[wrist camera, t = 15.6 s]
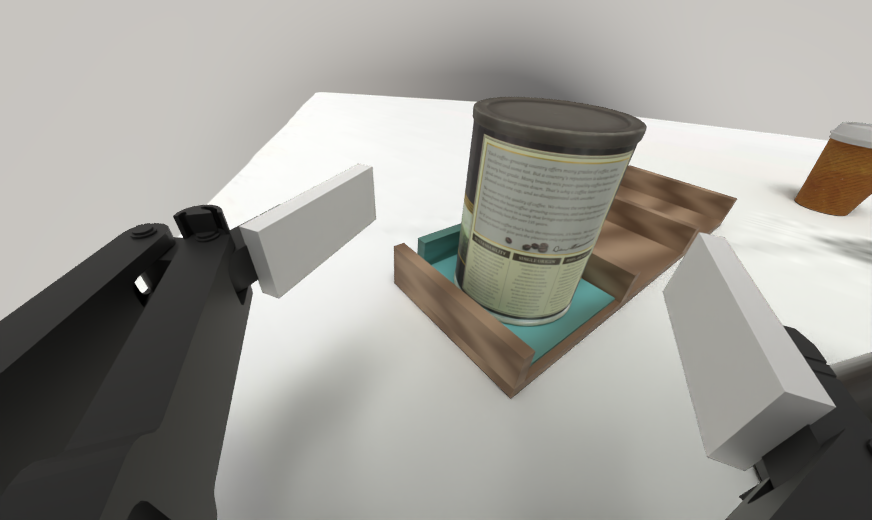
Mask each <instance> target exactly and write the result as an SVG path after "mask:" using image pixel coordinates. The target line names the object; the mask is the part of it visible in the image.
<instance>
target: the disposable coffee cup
mask: <svg viewBox="0 0 872 520" xmlns="http://www.w3.org/2000/svg"><path fill="white" fill-rule="evenodd" d="M830 133H831V135H830V136H829V137H830V139H829V141H828V143H827V145H826V146H825V148H824V150H823V151H822V153H821V155H820V157H819V158H818V160H817V162H816V164H815V165H814V167H813V169H812V171H811V172H810V174H809V176H808V177H807V179H806V181H805V183H804V184H803V186H802V188H801V190H800V191H799V193H798V195H797V197H796V198H795V201H796V202H797V203H798V204H800V205H802V206H804V207H806V208H809V209H811V210H814V211H818V212H822V213H826V214H831V215H838V216H845V215H848V214H849V213H850V212H851V211H852V210H853V209H855V208H856V207H857V206H858V205H859V204H860V203H861V202H863V201H864V200H865V199H866V198H867V197H868V196H870V195H871V194H872V124H866V123H857V122H842V123H841V124H840V125H839V126H838V127H837V128H836V129H835V130H831V131H830Z"/></svg>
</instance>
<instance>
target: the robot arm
mask: <svg viewBox="0 0 872 520" xmlns="http://www.w3.org/2000/svg"><path fill="white" fill-rule="evenodd" d="M173 217H174V219H175V221H176V223H177V225H178V228H179V230H180V232H181V234H182V236H183V238H176V237H173V235H172V233H171V231H170V229H169V227H168V226H167V225H165V224H159V223H154V224H150V223H147V224H144V225H143V224H142V225H138V226H136V227H134V228H131V229H129V230H127V231H125V232H124V233H122V234H121V235H119V236H118V237H116V238H115V239H114V240H112V241H111V242H110V243H108V244H107V245H105V246H104V247H103V248H101V249H100V250H98V251H97V252H96V253H94V254H93V255H92V256H90V257H89V258H87V259H86V260H84V261H83V262H82V263H80V264H79V265H78V266H76V267H75V268H73V269H72V270H71V271H69V272H68V273H66V274H65V275H64V276H62V277H61V278H60V279H58V280H57V281H55V282H54V283H52V284H51V285H50V286H48V287H47V288H46V289H44V290H43V291H41V292H40V293H39V294H37V295H36V296H34V297H33V298H32V299H30V300H29V301H27V302H26V303H25V304H23V305H22V306H20V307H19V308H18V309H16V310H15V311H14V312H12V313H11V314H9V315H8V316H7V317H5V318H4V319H2V320H1V321H0V520H217V509H216V504H215V498H214V486H215V480H216V475H217V470H218V465H219V460H220V455H221V450H222V445H223V440H224V435H225V430H226V425H227V420H228V415H229V410H230V405H231V400H232V395H233V390H234V385H235V380H236V375H237V370H238V365H239V360H240V355H241V350H242V345H243V340H244V335H245V330H246V325H247V320H248V315H249V310H250V305H251V300H252V295H253V292H252V288H251V284H252V283H254V282H255V281H257V280H258V281H259V284H260V287H261V290H262V292H263V293H265V294H268V295H271V296H273V297H276V298H280V297H282V296H283V295H284V294H285V293H287V292H288V291H289V290H290V289H291V288H293V287H294V286H295V285H296V284H298V283H299V282H300V281H301V280H302V279H304V278H305V277H306V276H307V275H309V274H310V273H311V272H312V271H313V270H315V269H316V268H317V267H318V266H320V265H321V264H322V263H323V262H324V261H326V260H327V259H328V258H329V257H330V256H332V255H333V254H334V253H335V252H337V251H338V250H339V249H340V248H341V247H343V246H344V245H345V244H346V243H348V242H349V241H350V240H351V239H352V238H354V237H355V236H356V235H357V234H359V233H360V232H361V231H362V230H363V229H365V228H366V227H367V226H368V225H370V224H371V223H372V222H373V221H374V220H376V211H375V196H374V181H373V167H372V166H367V165H362V164H357V165H355V166H353V167H351V168H349V169H347V170H345V171H344V172H342V173H340V174H338V175H336V176H334V177H332V178H330V179H328V180H326V181H324V182H323V183H321V184H319V185H317V186H315V187H313V188H311V189H309V190H307V191H305V192H303V193H302V194H300V195H298V196H296V197H294V198H292V199H290V200H288V201H286V202H284V203H282V204H280V205H277V206H276V207H274V208H272V209H270V210H268V211H266V212H264V213H262V214H260V216H256V217H254V218H253V219H251V220H249V221H247V222H245V223H243V224H241V225H239V226H237V227H235V228H233V229H232V230H229V227H228V224H227V222H226V219H225V216H224V214H223V211H222V209H221V208H220V207H218V206H215V205H200V206H193V207H190V208H186V209H184V210H182V211H180V212H177V213H176V214H175V215H174V216H173ZM140 275H141V277H142V279H143V280H144V282H145V283H146V285H147V287H148V289H147V290H146V291H145V292H144V293H141V292H140V291H139V289H138V288H137V286H136V285H135V283H134V282H135V281H136V279H137V278H138V277H139V276H140ZM663 295H664V299H665V303H666V306H667V310H668V314H669V317H670V321H671V325H672V329H673V332H674V336H675V340H676V344H677V347H678V351H679V355H680V358H681V362H682V366H683V370H684V373H685V377H686V381H687V384H688V388H689V392H690V396H691V399H692V403H693V407H694V411H695V414H696V418H697V422H698V425H699V429H700V433H701V437H702V440H703V444H704V448H705V452H706V455H707V457H708V458H711V459H714V460H716V461H719V462H722V463H724V464H727V465H730V466H733V467H735V468H738V469H741V470H743V471H746V470H747V469H749V468H750V467H752V466H753V465H754V464H755V466H756V468H757V471H758V473H759V475H760V477H761V479H762V482H761V483H759V484H758V485H756V486H755V487H753V488H752V489H750V490H748V491H747V492H745V493H744V494H742V495H741V496H739V497H740V498H741V499H742V500H743V501H742V502H741V504H740V505H739V506H738V507H737V508H736V509H735V510H734V511H733V512H732V513H731V514H730V515H729V516H728V517H727V518H726V519H725V520H872V352H870V353H867V354H864V355H861V356H858V357H854V358H851V359H848V360H845V361H841V362H838V363H835V364H832V365H826V363H827V361H826V360H825V359H824V357H823V356H822V354H821V353H820V352H819V350H818V349H817V348H816V346H815V345H814V344H813V343H812V342H810V341H809V340H808V339H807V338H806V337H804V336H803V335H802V334H801V333H800V332H798V331H797V330H796V329H794V328H791V327H787V326H783V325H782V324H781V322H780V321H779V319H778V318H777V316H776V315H775V313H774V312H773V310H772V309H771V307H770V305H769V304H768V302H767V301H766V299H765V298H764V296H763V295H762V293H761V292H760V290H759V289H758V287H757V286H756V284H755V283H754V281H753V280H752V278H751V277H750V275H749V273H748V272H747V270H746V269H745V267H744V266H743V264H742V263H741V261H740V260H739V258H738V257H737V255H736V254H735V252H734V251H733V249H732V248H731V246H730V245H729V243H728V242H727V240H726V238H725V237H720V236H715V235H710V234H705V233H700V232H699V233H698V235H697V236H696V238H695V240H694V241H693V243H692V244H691V246H690V248H689V249H688V251H687V253H686V254H685V256H684V258H683V259H682V261H681V262H680V264H679V266H678V267H677V269H676V271H675V272H674V274H673V276H672V277H671V279H670V280H669V282H668V284H667V285H666V287H665V289H664V290H663Z"/></svg>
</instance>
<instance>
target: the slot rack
mask: <svg viewBox="0 0 872 520" xmlns="http://www.w3.org/2000/svg"><path fill="white" fill-rule="evenodd" d="M736 200H737V198H734V197H730V196H727V195H724V194H721V193H718V192H714V191H711V190H708V189H705V188H701V187H698V186H695V185H692V184H688V183H685V182H682V181H679V180H675V179H672V178H669V177H666V176H663V175H659V174H656V173H653V172H650V171H646V170H643V169H640V168H637V167H633V166H628V167H627V169H626V172H625V175H624V177H623V179H622V182H621V184H620V187H619V189H618V191H617V193H616V196H615V198H614V201H613V203H612V206H611V208H610V211H609V213H608V215H607V218H606V220H605V222H604V224H603V227H602V229H601V231H600V234H599V236H598V239H597V241H596V243H595V246H594V248H593V251H592V253H591V256H590V258H589V260H588V262H587V265H586V268H585V270H584V273H583V275H582V277H581V279H580V282H579V284H578V286H577V289H576V291H575V293H574V296H573V299H572V303H571V306H570V308H569V309H568V311H567V312H566V313H565V314H564V315H563V316H562V317H560V318H559V319H557V320H555V321H554V322H551V323H547V324H543V325H537V326H518V325H512V324H506V323H502V322H499V321H498V320H497V319H496V318H495V317H493V316H492V315H491V314H490V313H489V312H487V311H486V310H485V309H484V308H482V307H481V306H480V305H479V304H478V303H476V302H475V301H474V300H473V299H471V298H470V297H469V296H468V295H467V294H465V293H464V292H463V291H462V290H461V289H459V288H458V287H457V286H456V285H455V283H454V272H455V270H456V262H457V254H458V246H459V238H460V230H461V224H458V225H455V226H452V227H449V228H446V229H443V230H440V231H437V232H434V233H431V234H429V235H426V236H423V237H420V238H418V254H417V253H416V252H414V251H413V250H412V249H411V248H409V247H408V246H407V245H406V244H405V243H402V244H399V245H396V246H394V283H395V284H396V285H397V286H398V287H399V288H400V289H401V290H402V291H403V292H404V293H405V294H406V295H407V296H408V297H409V298H410V299H411V300H412V301H413V302H414V303H415V304H416V305H417V306H418V307H419V308H420V309H421V310H422V311H423V312H424V313H425V314H426V315H427V316H428V317H429V318H430V319H431V320H432V321H433V322H434V323H435V324H436V325H437V326H438V327H439V328H440V329H441V330H442V331H443V332H444V333H445V334H446V335H447V336H448V337H449V338H450V339H451V340H452V341H453V342H454V343H455V344H456V345H457V346H458V347H459V348H460V349H461V350H462V351H463V352H464V353H465V354H466V355H467V356H468V357H469V358H470V359H471V360H472V361H473V362H474V363H475V364H476V365H477V366H478V367H479V368H480V369H481V370H482V371H483V372H484V373H485V374H486V375H487V376H488V377H489V378H490V379H491V380H492V381H493V382H495V383H496V384H497V385H498V386H499V387H500V388H501V389H502V390H503V391H504V392H505V393H506V394H507V395H508V396H509V397H510V398H512V397H513V396H515V395H516V394H517V393H518V392H519V391H521V390H522V389H523V388H524V387H526V386H527V385H528V384H529V383H530V382H532V381H533V380H534V379H535V378H536V377H538V376H539V375H540V374H541V373H542V372H544V371H545V370H546V369H547V368H548V367H550V366H551V365H552V364H553V363H555V362H556V361H557V360H558V359H559V358H561V357H562V356H563V355H564V354H565V353H567V352H568V351H569V350H570V349H571V348H573V347H574V346H575V345H576V344H577V343H579V342H580V341H581V340H582V339H583V338H585V337H586V336H587V335H588V334H590V333H591V332H592V331H593V330H594V329H596V328H597V327H598V326H599V325H600V324H602V323H603V322H604V321H605V320H606V319H608V318H609V317H610V316H611V315H612V314H614V313H615V312H616V311H617V310H619V309H620V308H621V307H622V306H623V305H625V304H626V303H627V302H628V301H629V300H631V299H632V298H633V297H634V296H635V295H637V294H638V293H639V292H640V291H641V290H643V289H644V288H645V287H646V286H647V285H649V284H650V283H651V282H652V281H654V280H655V279H656V278H657V277H658V276H660V275H661V274H662V273H663V272H664V271H666V270H667V269H668V268H669V267H670V266H672V265H673V264H674V263H675V262H676V261H678V260H679V259H680V258H681V257H683V256H684V255H685V254H686V253H687V251H688V249H689V248H690V246H691V244H692V243H693V241H694V240H695V238H696V236H697V235H698V233H699V232H700V233H705V234H710V233H711V232H713V231H714V230H715V229H716V228H718V227H719V226H720V224H721V223H722V221H723V220H724V218H725V217H726V215H727V214H728V212H729V211H730V209H731V208H732V206H733V205H734V203H735V202H736Z"/></svg>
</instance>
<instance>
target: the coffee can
mask: <svg viewBox="0 0 872 520" xmlns="http://www.w3.org/2000/svg"><path fill="white" fill-rule="evenodd" d="M473 118H474V124H473V132H472V141H471V149H470V157H469V165H468V173H467V181H466V189H465V198H464V206H463V214H462V222H461V230H460V238H459V246H458V254H457V262H456V270H455V272H454V283H455V285H456V286H457V287H458V288H459V289H461V290H462V291H463V292H464V293H465V294H467V295H468V296H469V297H470V298H471V299H473V300H474V301H475V302H476V303H478V304H479V305H480V306H481V307H482V308H484V309H485V310H486V311H487V312H489V313H490V314H491V315H492V316H493V317H495V318H496V319H497V320H498V321H499V322H502V323H506V324H512V325H518V326H537V325H543V324H547V323H551V322H554V321H555V320H557V319H559V318H560V317H562V316H563V315H564V314H565V313H566V312H567V311H568V309H569V308H570V306H571V303H572V299H573V296H574V293H575V291H576V289H577V286H578V284H579V282H580V279H581V277H582V275H583V273H584V270H585V268H586V265H587V262H588V260H589V258H590V256H591V253H592V251H593V248H594V246H595V243H596V241H597V239H598V236H599V234H600V231H601V229H602V227H603V224H604V222H605V220H606V218H607V215H608V213H609V211H610V208H611V206H612V203H613V201H614V198H615V196H616V193H617V191H618V189H619V187H620V184H621V182H622V179H623V177H624V175H625V172H626V169H627V167H628V164H629V162H630V160H631V157H632V155H633V153H634V151H635V148H636V146H637V143H638V142H640V141H641V139H642V138H643V136H644V134H645V131H646V125H645V123H643V122H642V121H641V120H639V119H637V118H636V117H633V116H631V115H629V114H626V113H622V112H619V111H615V110H612V109H608V108H604V107H599V106H593V105H589V104H583V103H576V102H570V101H562V100H553V99H544V98H529V97H498V98H489V99H485V100H481V101H479V102H477V103H475V104H474V107H473Z"/></svg>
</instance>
